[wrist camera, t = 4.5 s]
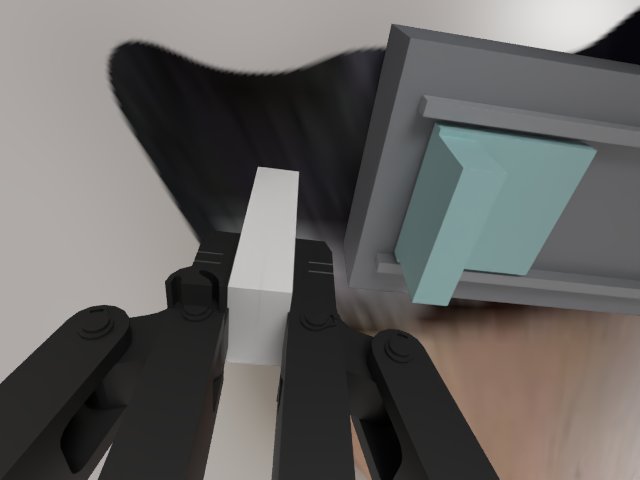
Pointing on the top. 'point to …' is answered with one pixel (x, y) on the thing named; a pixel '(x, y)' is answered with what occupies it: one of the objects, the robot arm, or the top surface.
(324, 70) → the top surface
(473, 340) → the top surface
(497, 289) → the socket housing
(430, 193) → the shutter
